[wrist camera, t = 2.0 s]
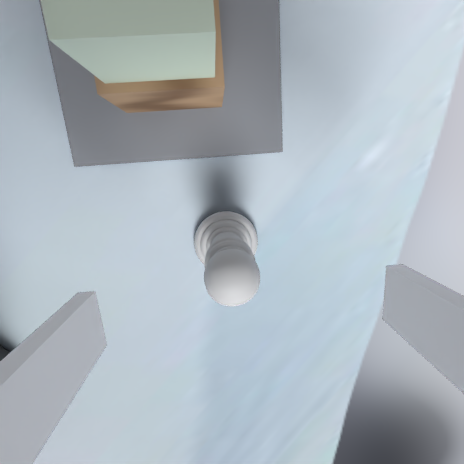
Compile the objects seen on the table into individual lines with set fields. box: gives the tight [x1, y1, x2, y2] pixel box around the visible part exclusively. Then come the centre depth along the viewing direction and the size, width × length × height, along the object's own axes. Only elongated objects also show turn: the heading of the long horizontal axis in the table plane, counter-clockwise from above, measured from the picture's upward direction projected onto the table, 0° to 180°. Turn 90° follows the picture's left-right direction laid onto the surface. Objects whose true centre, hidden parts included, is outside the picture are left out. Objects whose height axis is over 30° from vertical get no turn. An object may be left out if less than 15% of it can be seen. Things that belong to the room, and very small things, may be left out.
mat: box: [39, 0, 283, 167], centre depth 19 cm, size 16×14×1 cm
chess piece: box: [194, 211, 260, 306], centre depth 18 cm, size 5×5×9 cm
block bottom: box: [94, 0, 225, 113], centre depth 16 cm, size 7×7×5 cm
